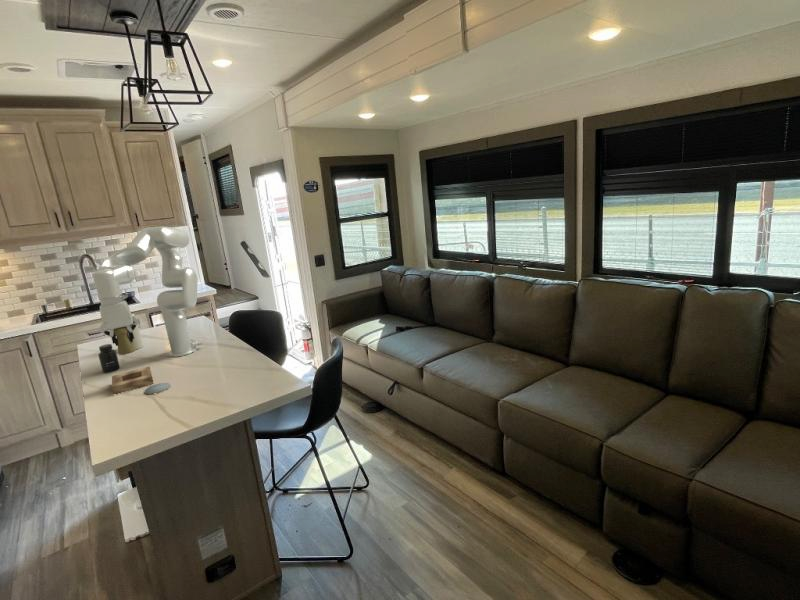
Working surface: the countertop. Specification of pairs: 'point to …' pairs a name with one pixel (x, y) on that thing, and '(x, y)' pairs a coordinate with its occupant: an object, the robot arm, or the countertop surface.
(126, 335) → the cork
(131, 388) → the socket ring
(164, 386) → the coaster
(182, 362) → the countertop surface
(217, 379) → the countertop surface
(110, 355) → the supplement bottle
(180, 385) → the countertop surface
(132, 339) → the robot arm
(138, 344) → the travel mug
